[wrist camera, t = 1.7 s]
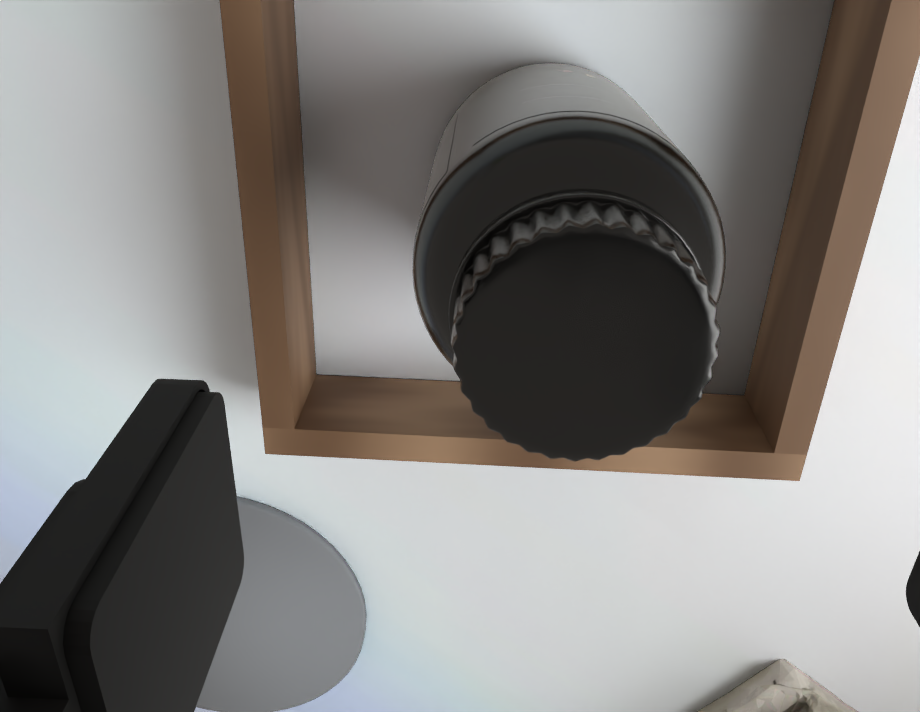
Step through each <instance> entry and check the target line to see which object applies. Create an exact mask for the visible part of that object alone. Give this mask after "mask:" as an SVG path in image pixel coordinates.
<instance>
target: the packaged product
mask: <svg viewBox="0 0 920 712" xmlns="http://www.w3.org/2000/svg"><path fill="white" fill-rule="evenodd" d="M697 712H858V711H856V710H855V709H853V708H852V707H850V706H848V705H847V704H845V703H844V702H843V701H841V700H840V699H839V698H838V697H836V696H835V695H834V694H833V693H831V692H830V691H828V690H827V689H826V688H824V687H823V686H821V685H820V684H819V683H817V682H816V681H814V680H813V679H812V678H810V677H809V676H808V675H806V674H805V673H803V672H802V671H801V670H799V669H798V668H796V667H795V666H794V665H792V664H791V663H789V662H788V661H787V660H785V659H779V660H777V661H776V662H774V663H773V664H771V665H769V666H768V667H766V668H765V669H763V670H762V671H760V672H759V673H757V674H756V675H754V676H753V677H751V678H750V679H748V680H747V681H745V682H744V683H742V684H741V685H739V686H737V687H736V688H734V689H733V690H732V691H730V692H729V693H727V694H726V695H724V696H722V697H720V698H719V699H717V700H715V701H714V702H712V703H710V704H709V705H707V706H705V707H704V708H702V709H700V710H698V711H697Z"/></svg>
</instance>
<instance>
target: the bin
mask: <svg viewBox="0 0 920 712" xmlns="http://www.w3.org/2000/svg"><path fill="white" fill-rule="evenodd" d="M220 9H221V18H222V28H223V38H224V48H225V58H226V68H227V78H228V88H229V98H230V108H231V118H232V128H233V138H234V148H235V158H236V168H237V177H238V187H239V197H240V207H241V217H242V227H243V237H244V247H245V257H246V267H247V277H248V287H249V297H250V307H251V317H252V327H253V337H254V346H255V356H256V366H257V376H258V386H259V396H260V406H261V416H262V426H263V436H264V446H265V454H279V455H298V456H318V457H338V458H357V459H377V460H397V461H417V462H436V463H456V464H476V465H495V466H515V467H535V468H555V469H574V470H594V471H614V472H634V473H653V474H673V475H693V476H712V477H732V478H752V479H772V480H791V481H799V480H800V477H801V473H802V470H803V466H804V463H805V459H806V456H807V452H808V449H809V445H810V442H811V438H812V434H813V431H814V427H815V424H816V420H817V417H818V413H819V410H820V406H821V403H822V399H823V396H824V392H825V388H826V385H827V381H828V378H829V374H830V371H831V367H832V364H833V360H834V357H835V353H836V350H837V346H838V342H839V339H840V335H841V332H842V328H843V325H844V321H845V318H846V314H847V311H848V307H849V304H850V300H851V296H852V293H853V289H854V286H855V282H856V279H857V275H858V272H859V268H860V265H861V261H862V258H863V254H864V250H865V247H866V243H867V240H868V236H869V233H870V229H871V226H872V222H873V219H874V215H875V212H876V208H877V204H878V201H879V197H880V194H881V190H882V187H883V183H884V180H885V176H886V173H887V169H888V166H889V162H890V158H891V155H892V151H893V148H894V144H895V141H896V137H897V134H898V130H899V127H900V123H901V119H902V116H903V112H904V109H905V105H906V102H907V98H908V95H909V91H910V88H911V84H912V81H913V77H914V73H915V70H916V66H917V63H918V59H919V56H920V0H835V1H834V5H833V9H832V14H831V18H830V22H829V27H828V31H827V36H826V40H825V44H824V49H823V53H822V57H821V62H820V66H819V71H818V75H817V79H816V84H815V88H814V92H813V97H812V101H811V106H810V110H809V114H808V119H807V123H806V127H805V132H804V136H803V140H802V145H801V149H800V154H799V158H798V162H797V167H796V171H795V175H794V180H793V184H792V189H791V193H790V197H789V202H788V206H787V210H786V215H785V219H784V224H783V228H782V232H781V237H780V241H779V245H778V250H777V254H776V259H775V263H774V267H773V272H772V276H771V280H770V285H769V289H768V294H767V298H766V302H765V307H764V311H763V315H762V320H761V324H760V329H759V333H758V337H757V342H756V346H755V350H754V355H753V359H752V363H751V368H750V372H749V377H748V381H747V385H746V390H745V394H744V395H726V394H705V393H703V394H702V398H701V400H699V401H698V402H697V403H696V404H695V405H693V406H692V407H691V408H690V410H689V413H688V415H687V417H686V418H685V419H683V420H681V421H679V422H677V423H675V424H674V425H673V426H672V428H671V429H670V431H669V432H668V433H667V434H665V435H662V436H658V437H655V438H654V439H653V440H652V441H651V442H650V443H649V444H648V445H646V446H644V447H637V448H633V449H631V450H630V451H629V452H627V453H625V454H624V455H610V456H608V457H606V458H603V459H601V460H593V459H587V458H586V459H583V460H579V461H575V462H574V461H571V460H568V459H565V458H557V459H550V458H548V457H546V456H545V455H543V454H541V453H530V452H527V451H525V450H524V449H523V448H522V447H521V446H520V445H517V444H512V443H508V442H506V441H505V439H504V438H503V437H502V435H501V434H500V433H498V432H495V431H493V430H491V429H489V428H488V427H487V425H486V423H485V421H484V419H483V418H482V417H480V416H479V415H477V414H476V413H474V412H473V410H472V407H471V402H470V400H469V399H468V398H467V397H466V396H465V395H464V394H463V393H462V392H461V389H460V382H456V381H436V380H415V379H394V378H374V377H353V376H332V375H316V360H315V343H314V327H313V310H312V294H311V278H310V261H309V245H308V229H307V212H306V196H305V179H304V163H303V147H302V130H301V114H300V97H299V81H298V65H297V48H296V32H295V16H294V0H220Z"/></svg>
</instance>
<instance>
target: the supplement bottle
mask: <svg viewBox="0 0 920 712" xmlns="http://www.w3.org/2000/svg"><path fill="white" fill-rule="evenodd" d="M725 259H726V250H725V239H724V232H723V227H722V222H721V219H720V216H719V213H718V210H717V207H716V205H715V202H714V200H713V198H712V196H711V193H710V192H709V190H708V188H707V187H706V185H705V183H704V181H703V180H702V178H701V177H700V175H699V174H698V172H697V171H696V170H695V168H694V167H693V166H692V164H691V163H690V162H689V160H688V159H687V158H686V157H685V156H684V155H683V154H682V153H681V151H680V150H679V149H678V148H677V147H676V146H675V145H674V144H673V142H672V141H671V140H670V139H669V138H668V137H667V136H666V135H665V134H664V132H663V131H662V130H661V129H660V128H659V127H658V126H657V125H656V123H655V122H654V121H653V120H652V119H651V118H650V117H649V116H648V115H647V113H646V112H645V111H644V110H643V109H642V108H641V107H640V106H639V105H638V104H637V103H636V101H635V100H634V99H633V98H632V97H631V96H629V95H628V94H627V93H626V92H625V91H624V90H623V89H622V88H620V87H619V86H618V85H617V84H615V83H614V82H612V81H611V80H609V79H607V78H606V77H604V76H602V75H600V74H598V73H595V72H593V71H591V70H588V69H585V68H582V67H578V66H574V65H568V64H560V63H540V64H532V65H527V66H523V67H519V68H516V69H513V70H510V71H507V72H505V73H503V74H501V75H498V76H496V77H495V78H493V79H491V80H490V81H488V82H486V83H485V84H484V85H482V86H481V87H479V88H478V89H477V90H476V91H475V92H473V93H472V94H471V95H470V96H469V97H468V98H467V99H466V100H465V101H464V102H463V104H462V105H461V106H460V107H459V108H458V110H457V111H456V112H455V114H454V115H453V117H452V118H451V120H450V121H449V123H448V125H447V127H446V129H445V131H444V133H443V135H442V137H441V140H440V143H439V146H438V149H437V152H436V155H435V159H434V163H433V167H432V171H431V175H430V179H429V183H428V187H427V191H426V195H425V199H424V203H423V208H422V212H421V216H420V220H419V224H418V228H417V232H416V237H415V244H414V251H413V284H414V291H415V297H416V301H417V305H418V308H419V312H420V315H421V317H422V320H423V322H424V325H425V327H426V329H427V331H428V333H429V335H430V337H431V338H432V340H433V342H434V343H435V345H436V346H437V348H438V349H439V351H440V352H441V353H442V354H443V356H444V357H445V358H446V359H447V361H448V362H449V363H450V364H451V365H452V366H453V367H454V370H455V372H456V374H457V375H458V377H459V378H460V389H461V392H462V393H463V394H464V395H465V396H466V397H467V398H468V399H469V400H470V402H471V407H472V410H473V412H474V413H476V414H477V415H479V416H480V417H482V418H483V419H484V421H485V423H486V425H487V427H488V428H489V429H491V430H493V431H495V432H498V433H500V434H501V435H502V437H503V438H504V439H505V441H506V442H508V443H512V444H517V445H520V446H521V447H522V448H523V449H524V450H525V451H527V452H530V453H541V454H543V455H545V456H546V457H548V458H550V459H557V458H565V459H568V460H571V461H574V462H575V461H579V460H583V459H586V458H587V459H593V460H601V459H603V458H606V457H608V456H610V455H624V454H625V453H627V452H629V451H630V450H631V449H633V448H637V447H644V446H646V445H648V444H649V443H650V442H651V441H652V440H653V439H654V438H655V437H658V436H662V435H665V434H667V433H668V432H669V431H670V429H671V428H672V426H673V425H674V424H675V423H677V422H679V421H681V420H683V419H685V418H686V417H687V415H688V413H689V410H690V408H691V407H692V406H693V405H695V404H696V403H697V402H698V401H699V400H701V398H702V394H703V388H704V387H705V386H706V385H707V384H708V382H709V381H710V380H711V379H712V365H713V364H714V362H715V361H716V359H717V357H718V355H719V352H718V347H717V344H716V342H717V340H718V338H719V334H720V326H719V324H718V322H717V320H716V319H715V318H716V312H717V304H718V301H719V298H720V295H721V290H722V286H723V282H724V274H725Z"/></svg>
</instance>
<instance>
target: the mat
mask: <svg viewBox="0 0 920 712" xmlns="http://www.w3.org/2000/svg"><path fill="white" fill-rule="evenodd" d="M237 504H238V512H239V520H240V527H241V535H242V542H243V550H244V569H243V576H242V580H241V584H240V587H239V589H238V592H237V595H236V598H235V600H234V603H233V606H232V609H231V611H230V614H229V617H228V620H227V622H226V625H225V628H224V631H223V633H222V636H221V639H220V642H219V644H218V647H217V650H216V653H215V655H214V658H213V661H212V664H211V666H210V669H209V672H208V675H207V677H206V680H205V683H204V686H203V688H202V691H201V694H200V697H199V699H198V702H197V705H196V707H199V708H203V709H208V710H214V711H220V712H273V711H278V710H284V709H288V708H292V707H295V706H298V705H302V704H304V703H306V702H309V701H311V700H314V699H316V698H317V697H319V696H321V695H323V694H324V693H326V692H328V691H329V690H330V689H332V688H333V687H334V686H336V685H337V684H338V683H339V682H340V681H341V680H342V679H343V678H344V677H345V676H346V675H347V674H348V673H349V671H350V670H351V668H352V667H353V665H354V664H355V662H356V660H357V658H358V656H359V653H360V651H361V648H362V644H363V640H364V635H365V630H366V607H365V600H364V597H363V593H362V590H361V587H360V585H359V583H358V580H357V578H356V576H355V574H354V572H353V571H352V569H351V568H350V566H349V565H348V563H347V562H346V560H345V559H344V558H343V557H342V556H341V554H340V553H339V552H338V551H337V550H336V549H335V548H334V547H333V546H332V545H331V544H330V543H329V542H328V541H327V540H326V539H325V538H323V537H322V536H321V535H320V534H319V533H317V532H316V531H315V530H313V529H312V528H310V527H309V526H307V525H306V524H305V523H303V522H301V521H299V520H298V519H296V518H294V517H292V516H290V515H289V514H287V513H284V512H282V511H280V510H278V509H275V508H273V507H271V506H268V505H265V504H262V503H259V502H255V501H252V500H249V499H245V498H240V497H237Z"/></svg>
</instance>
